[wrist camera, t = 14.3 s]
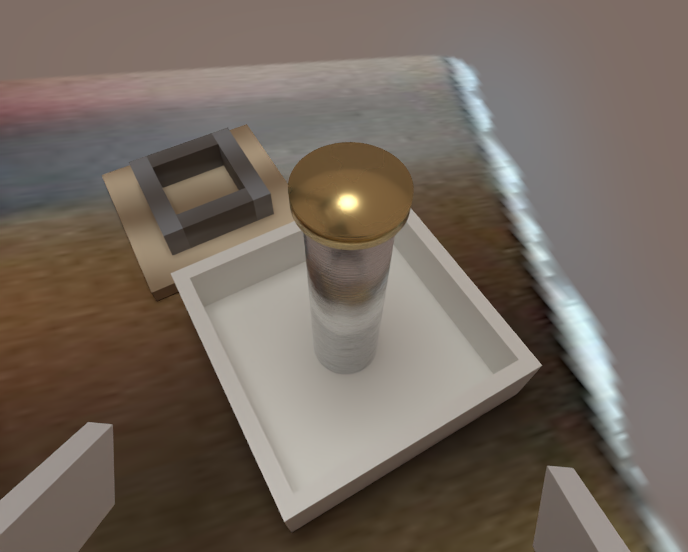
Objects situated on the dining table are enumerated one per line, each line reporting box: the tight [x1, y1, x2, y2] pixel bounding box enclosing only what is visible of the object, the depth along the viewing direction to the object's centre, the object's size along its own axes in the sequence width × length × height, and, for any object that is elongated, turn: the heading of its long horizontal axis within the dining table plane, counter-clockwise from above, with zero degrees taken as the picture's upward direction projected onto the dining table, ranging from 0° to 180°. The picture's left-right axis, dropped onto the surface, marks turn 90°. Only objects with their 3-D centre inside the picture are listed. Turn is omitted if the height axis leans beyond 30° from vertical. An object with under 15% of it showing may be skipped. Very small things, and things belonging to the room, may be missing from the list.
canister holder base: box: [102, 124, 294, 301], centre depth 34 cm, size 11×11×3 cm
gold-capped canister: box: [288, 142, 413, 374], centre depth 23 cm, size 4×4×13 cm
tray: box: [171, 209, 542, 533], centre depth 27 cm, size 14×14×4 cm
